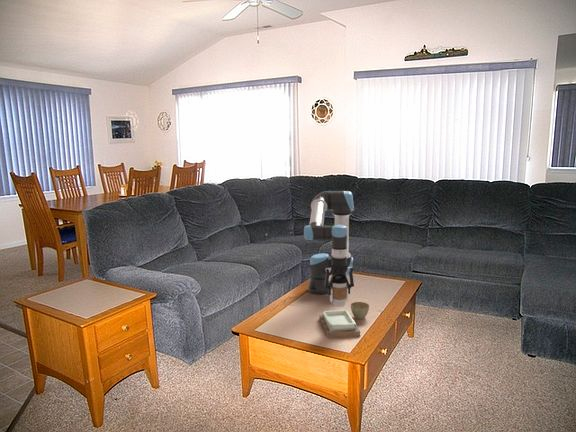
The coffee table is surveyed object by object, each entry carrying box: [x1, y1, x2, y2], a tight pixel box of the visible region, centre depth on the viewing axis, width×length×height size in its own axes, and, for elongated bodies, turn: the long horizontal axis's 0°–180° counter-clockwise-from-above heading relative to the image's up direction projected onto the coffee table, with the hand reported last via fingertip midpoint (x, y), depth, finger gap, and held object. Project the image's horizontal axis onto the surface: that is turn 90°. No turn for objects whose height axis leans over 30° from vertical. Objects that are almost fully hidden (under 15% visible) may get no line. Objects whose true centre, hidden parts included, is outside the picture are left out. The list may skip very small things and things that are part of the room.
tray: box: [322, 309, 357, 331], centre depth 216 cm, size 18×13×3 cm
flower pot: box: [350, 301, 370, 320], centre depth 227 cm, size 10×10×7 cm
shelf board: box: [318, 314, 361, 339], centre depth 216 cm, size 22×16×2 cm
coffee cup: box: [331, 275, 349, 308], centre depth 213 cm, size 8×8×15 cm
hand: (338, 300), depth 214 cm, fingers closed on coffee cup, 7 cm apart
